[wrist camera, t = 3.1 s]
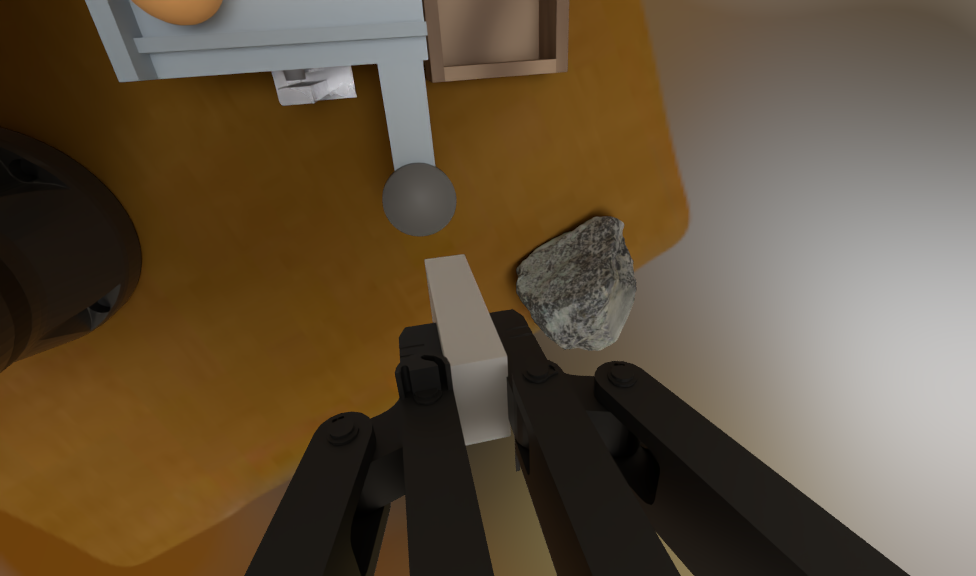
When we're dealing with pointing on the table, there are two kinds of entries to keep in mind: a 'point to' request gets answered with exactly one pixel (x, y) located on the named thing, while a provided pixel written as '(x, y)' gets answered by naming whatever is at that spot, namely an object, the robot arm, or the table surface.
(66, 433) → the table surface
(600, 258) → the stone
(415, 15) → the seesaw
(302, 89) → the pivot stand
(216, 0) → the ball
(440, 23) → the tray
